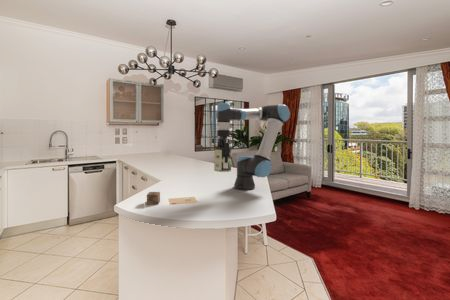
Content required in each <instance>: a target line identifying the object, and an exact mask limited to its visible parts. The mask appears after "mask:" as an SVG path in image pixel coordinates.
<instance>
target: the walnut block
mask: <svg viewBox="0 0 450 300" xmlns="http://www.w3.org/2000/svg"><path fill="white" fill-rule="evenodd" d="M160 202H161V191H148V193H147V194H146V205H149V206H150V205H153V206H155V205H159V203H160Z"/></svg>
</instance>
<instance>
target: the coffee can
mask: <svg viewBox="0 0 450 300" xmlns="http://www.w3.org/2000/svg"><path fill="white" fill-rule="evenodd" d="M232 148H233V147H231V146H229V151H230V156H229V157H228V168H223V156H224V150H225V148H223V147H217V146H214V160H213V161H214V164H213V165H214V170H213V171H214V172H217V173H225V172H226V173H229V172H232Z"/></svg>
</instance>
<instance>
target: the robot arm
mask: <svg viewBox="0 0 450 300" xmlns="http://www.w3.org/2000/svg"><path fill="white" fill-rule="evenodd" d="M290 115H291V113H290V109H289V107H288V105H286V104H282V103H281V104H271V105H270V104H269V105H266V106H265V105H264V106H260V107H259V106H257V107H255V108H241V107H231V103H228V102H220V103H218V104H217V111H216V112H215V118H216V120H217V121H216V126H217V127H216V128H217V130H216V136H217V137H218V138H217V146H216V147H223V148H225V150H224V156H223V168H228V157H229V156H230V151H229V147H230V139H229V138H228V137H230V135H231V133H230V132H231V131H230V130H231V121H239V122H240V121H245V120H256V121H263V122H265V121H266V122H267V123H268V124H267V126H266V129H265V130H264V134H263V137H262V140H261V142H260V145H259V148H258V151H257V153H256V154H254V156H253V155H248V156H247V155H246V156H245V155H244V156H238V157H237V159H236V160H237V161H236V178H235V181H234V184H233V185H234V187H233V188H234V189H236V190H241V191H251V190H255V188H256V185H255V184H256V183H255V180H254V177H256V178H266V177H267V176H269V175H270V174H271V171H272V168H273V167H272V163H271V158H270V156H271V154H272V152H273V147H274V145H275V142H276V140H277V137H278V135H279V134H278V133H279V130H280V127H283V126H284V123H285V122H287V121H288V120H289V119H290Z"/></svg>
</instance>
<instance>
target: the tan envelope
mask: <svg viewBox="0 0 450 300" xmlns="http://www.w3.org/2000/svg"><path fill="white" fill-rule="evenodd" d="M168 203H169V205H170V206H173V205H174V206H175V205H183V204H184V205H185V204H196V203H197V204H199V201H198V200H197V198H196V196H187V197H174V198H168Z"/></svg>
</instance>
